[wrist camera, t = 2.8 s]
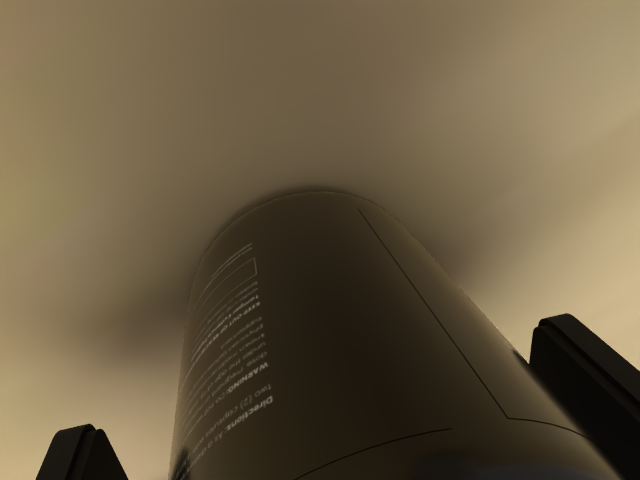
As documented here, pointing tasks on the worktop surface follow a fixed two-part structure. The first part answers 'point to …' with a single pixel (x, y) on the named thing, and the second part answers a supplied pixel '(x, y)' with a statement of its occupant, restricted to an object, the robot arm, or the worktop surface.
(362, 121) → the worktop surface
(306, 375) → the supplement bottle
